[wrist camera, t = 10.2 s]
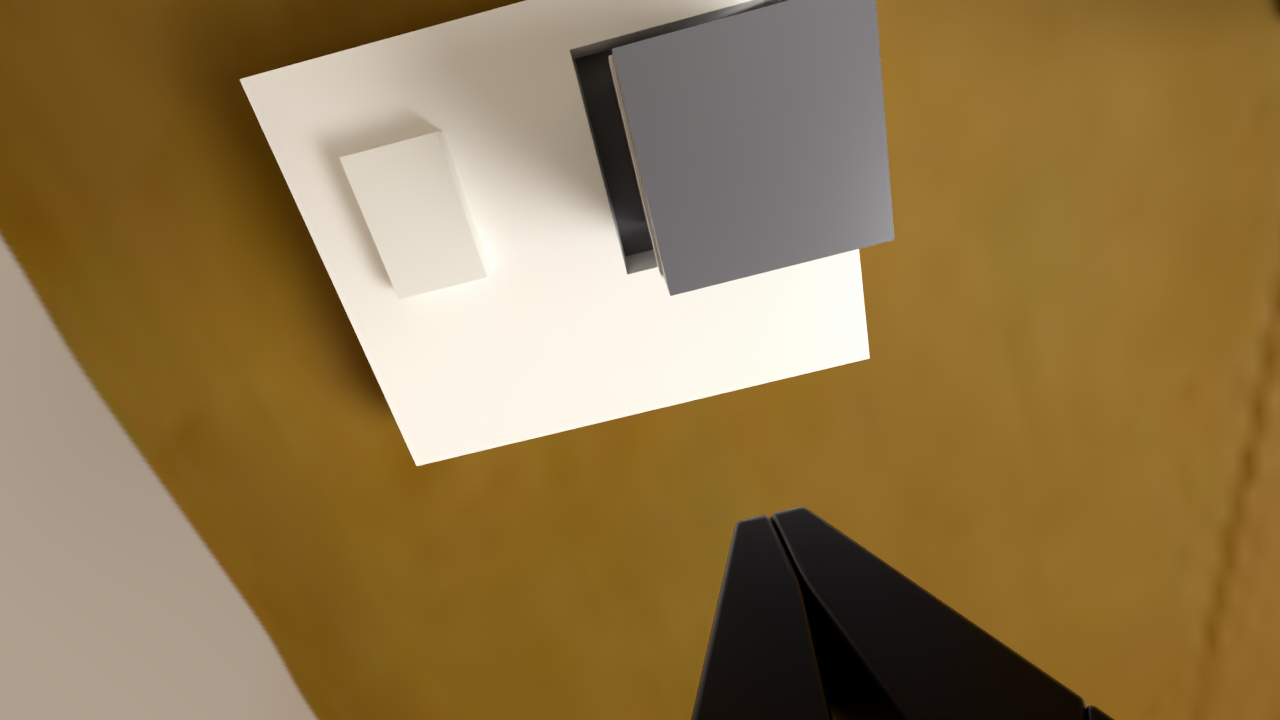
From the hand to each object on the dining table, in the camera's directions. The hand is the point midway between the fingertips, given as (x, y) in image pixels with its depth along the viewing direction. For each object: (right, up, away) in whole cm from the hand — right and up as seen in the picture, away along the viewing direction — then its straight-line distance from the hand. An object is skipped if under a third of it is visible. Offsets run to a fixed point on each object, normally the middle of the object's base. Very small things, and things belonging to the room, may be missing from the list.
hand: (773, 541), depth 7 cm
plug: (0, +9, +10) cm, 13 cm away
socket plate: (-3, +6, +11) cm, 13 cm away
